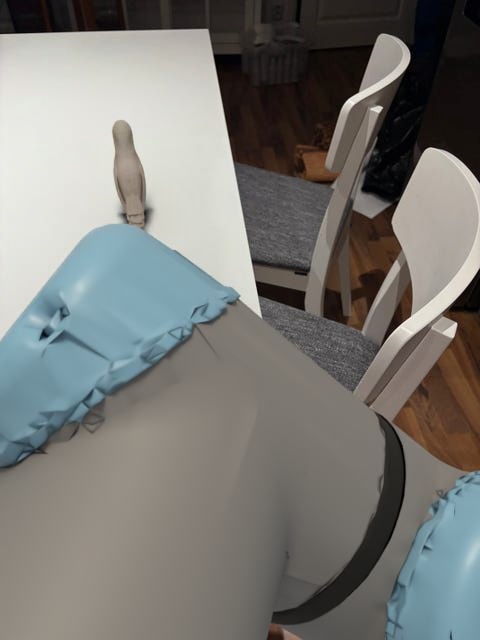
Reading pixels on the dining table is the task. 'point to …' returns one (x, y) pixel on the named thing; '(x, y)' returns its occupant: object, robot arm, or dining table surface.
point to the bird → (129, 174)
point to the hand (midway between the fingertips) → (154, 440)
